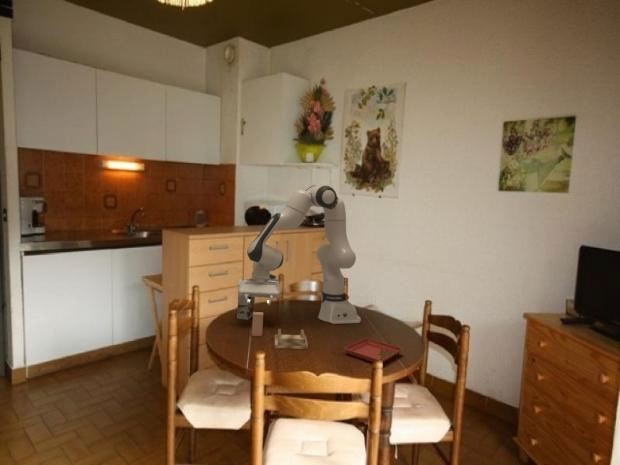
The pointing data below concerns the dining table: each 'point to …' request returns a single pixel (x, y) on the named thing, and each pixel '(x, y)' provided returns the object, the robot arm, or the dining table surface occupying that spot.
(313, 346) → the dining table surface
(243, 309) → the coffee box
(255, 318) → the pinkish brown block
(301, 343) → the rack
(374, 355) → the plant saucer
